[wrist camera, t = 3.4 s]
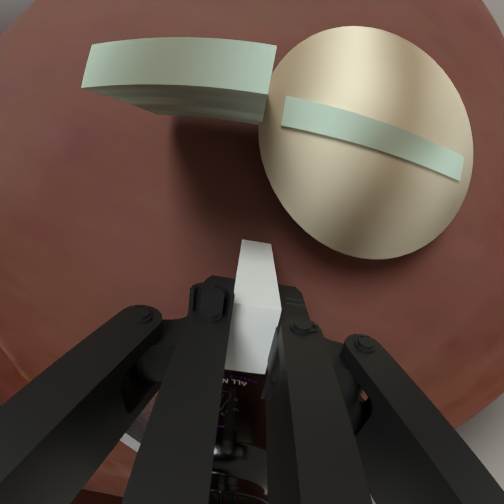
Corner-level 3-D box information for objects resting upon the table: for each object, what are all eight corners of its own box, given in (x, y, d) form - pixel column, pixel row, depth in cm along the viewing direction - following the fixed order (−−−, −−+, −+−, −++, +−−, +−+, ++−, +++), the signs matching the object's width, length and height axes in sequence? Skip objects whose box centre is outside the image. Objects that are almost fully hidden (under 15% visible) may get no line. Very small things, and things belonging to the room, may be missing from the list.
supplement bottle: (235, 313, 17) (213, 501, 6) (300, 372, 19) (323, 526, 8) (167, 362, 19) (116, 507, 8) (231, 410, 21) (220, 542, 9)
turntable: (146, 215, 14) (70, 263, 7) (185, 5, 10) (143, -69, 4) (434, 265, 15) (504, 322, 8) (466, 83, 11) (546, 71, 4)
